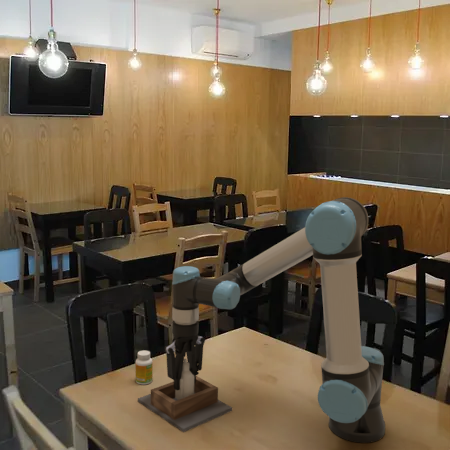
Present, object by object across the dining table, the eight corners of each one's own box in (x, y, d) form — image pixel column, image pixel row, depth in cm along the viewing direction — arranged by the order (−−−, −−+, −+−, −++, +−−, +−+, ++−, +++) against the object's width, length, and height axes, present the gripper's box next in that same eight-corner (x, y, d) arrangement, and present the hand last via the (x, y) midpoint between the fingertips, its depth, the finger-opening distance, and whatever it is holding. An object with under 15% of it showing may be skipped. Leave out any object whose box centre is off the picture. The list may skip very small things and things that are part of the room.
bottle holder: (232, 410, 162) (232, 393, 161) (183, 432, 150) (183, 413, 149) (185, 384, 178) (185, 367, 177) (137, 401, 166) (137, 384, 165)
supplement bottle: (147, 386, 175) (147, 357, 174) (132, 383, 177) (132, 354, 175) (155, 379, 180) (155, 350, 179) (140, 376, 182) (140, 348, 180)
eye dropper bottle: (190, 392, 166) (191, 354, 164) (194, 401, 161) (194, 362, 159) (176, 393, 165) (176, 355, 163) (179, 402, 160) (179, 363, 158)
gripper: (199, 311, 167) (198, 384, 171) (154, 323, 156) (154, 400, 160) (215, 317, 162) (214, 392, 166) (170, 330, 151) (169, 410, 155)
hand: (184, 396), depth 163 cm, fingers closed on eye dropper bottle, 3 cm apart
